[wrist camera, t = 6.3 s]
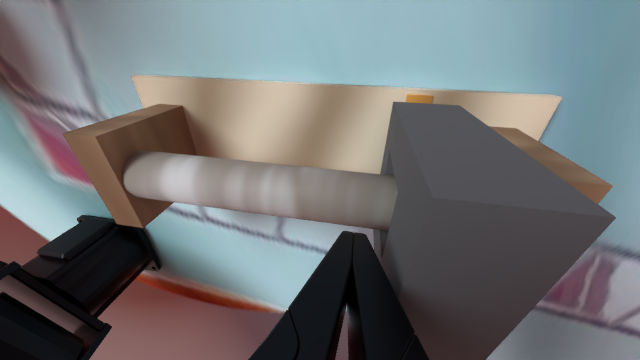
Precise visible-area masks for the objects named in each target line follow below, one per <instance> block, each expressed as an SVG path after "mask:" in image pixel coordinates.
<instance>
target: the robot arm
mask: <svg viewBox="0 0 640 360" xmlns="http://www.w3.org/2000/svg"><path fill="white" fill-rule="evenodd" d="M77 221H78V222H79V224H77V225H76V226H74V227H73V228H71V229H70V230H68V231H66V232H65V233H63V234H62V235H60V236H59V237H57V238H55V239H54V240H52V241H51V242H49V243H48V244H46V245H45V246H43V247H41V248H40V249H39V250H38V251H37V254H38V256H37V257H35V258H34V259H32V260H30V261H29V262H28V263H26V264H24V265H23V266H21V265H19V264H18V263H16V262H15V261H13V262H11V263H9V264H7V263H5V262H2V261H0V291H1V293H0V360H89V359H90V357H91V356H92V355H93V353H94V352H95V350H96V349H97V348H98V346H99V345H100V343H101V342H102V340H103V339H104V338H105V336H106V335H107V334H108V332H109V331H110V329H111V328H112V326H110V325H109V324H107V323H103V322H102V321H100V320H98V319H97V318H98V316H100V315H101V314H102V312H103V311H104V310H105V309H106V308H107V307H108V306H109V305H110V304H111V303H112V302H113V301H114V300H115V299H116V298H117V297H118V296H119V295H120V294H121V293H122V292H123V291H124V290H125V289H126V288H127V287H128V286H129V285H130V284H131V283H132V281H134V279H135V278H136V277H137V276H138V275H139V274H140V273H141V272H142V271H143V270H144V269H146V270H151V271H159V270H160V268H161V265H160V263H159V261H158V259H157V257H156V255H155V254H154V252H153V250H152V248H151V246H150V244H149V242H148V240H147V239H146V237H145V235H144V233H143V231H142V229H141V228H140V227H133V226H127V225H120V224H117V223H116V222H115V220H112V219H106V218H99V217H93V216H86V215H82V216H80V217H78V218H77ZM20 266H21V267H20ZM346 306H347V321H348V322H347V324H348V360H430V359H429V357H428V356H427V354H426V352H425V350H424V348H423V346H422V344H421V342H420V340H419V338H418V336H417V335H414V334H415V331H414V329H413V327H412V325H411V323H410V321H409V319H408V317H407V315H406V313H405V311H404V309H403V307H402V305H401V303H400V301H399V299H398V297H397V295H396V293H395V291H394V289H393V287H392V285H391V283H390V281H389V279H388V277H387V275H386V273H385V271H384V269H383V267H382V265H381V263H380V261H379V259H378V257H377V255H376V254H375V252H374V250H373V248H372V246H371V244H370V242H369V240H368V238H367V236H366V235H365V234H363V233H354V232H348V231H343V232H342V233H341V234H340V236H339V237H338V238H337V240H336V241H335V243H334V244H333V245H332V247H331V248H330V250H329V251H328V253H327V254H326V255H325V257H324V258H323V260H322V261H321V262H320V264H319V265H318V267H317V268H316V269H315V271H314V272H313V274H312V275H311V277H310V278H309V279H308V281H307V282H306V284H305V285H304V286H303V288H302V289H301V291H300V292H299V294H298V295H297V296H296V298H295V299H294V301H293V302H292V303H291V305H290V306H289V308H288V310H286V312H285V313H284V314H283V316H282V317H281V319H280V320H279V322H278V323H277V324H276V326H275V327H274V329H273V330H272V331H271V332H270V334H269V335H268V336H267V337H266V339H265V340H264V341H263V342H262V344H261V345H260V346H259V347H258V349H257V350H256V351H255V352H254V353H253V355H252V356H251V357H250V358H249V359H248V360H335V358H336V353H337V349H338V344H339V339H340V334H341V329H342V325H343V320H344V315H345V310H346Z"/></svg>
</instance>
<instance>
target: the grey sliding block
mask: <svg viewBox="0 0 640 360" xmlns="http://www.w3.org/2000/svg"><path fill="white" fill-rule="evenodd" d="M380 174H383V175H393V176H395V180H396V185H397V190H398V194H397V198H396V202H395V206H394V211H393V215H392V219H391V223H390V227H389V231H385V230H378V229H373V230H374V252H375V254H376V255H377V257H378V259H379V261H380V263H381V265H382V267H383V269H384V271H385V273H386V275H387V277H388V279H389V281H390V283H391V285H392V287H393V289H394V291H395V293H396V295H397V297H398V299H399V301H400V303H401V305H402V307H403V309H404V311H405V313H406V315H407V317H408V319H409V321H410V323H411V325H412V327H413V329H414V331H415V334H414V335H417V336H418V338H419V340H420V342H421V344H422V346H423V348H424V350H425V352H426V354H427V356H428V357H429V359H430V360H486V359H487V357H488V356H489V355H490V354H491V353H492V352H493V351H494V350H495V349H496V348H497V347H498V346H499V344H500V343H501V342H502V341H503V340H504V339H505V338H506V337H507V336H508V335H509V334H510V332H511V331H512V330H513V329H514V328H515V327H516V326H517V325H518V324H519V323H520V322H521V321H522V319H523V318H524V317H525V316H526V315H527V314H528V313H529V312H530V311H531V310H532V309H533V307H534V306H535V305H536V304H537V303H538V302H539V301H540V300H541V299H542V298H543V297H544V296H545V294H546V293H547V292H548V291H549V290H550V289H551V288H552V287H553V286H554V285H555V284H556V282H557V281H558V280H559V279H560V278H561V277H562V276H563V275H564V274H565V273H566V272H567V271H568V269H569V268H570V267H571V266H572V265H573V264H574V263H575V262H576V261H577V260H578V259H579V257H580V256H581V255H582V254H583V253H584V252H585V251H586V250H587V249H588V248H589V247H590V245H591V244H592V243H593V242H594V241H595V240H596V239H597V238H598V237H599V236H600V235H601V234H602V232H603V231H604V230H605V229H606V228H607V227H608V226H609V225H610V224H611V223H612V222H613V220H614V219H615V218H616V217H614V216H613V215H612V214H610V213H609V212H607V211H606V210H605V209H603V208H602V207H601V206H599V205H598V204H596V203H595V202H594V201H592V200H591V199H589V198H588V197H587V196H585V195H584V194H582V193H581V192H580V191H578V190H577V189H575V188H574V187H573V186H571V185H570V184H568V183H567V182H566V181H564V180H563V179H561V178H560V177H559V176H557V175H556V174H554V173H553V172H552V171H550V170H549V169H547V168H546V167H545V166H543V165H542V164H541V163H539V162H538V161H536V160H535V159H534V158H532V157H531V156H529V155H528V154H527V153H525V152H524V151H522V150H521V149H520V148H518V147H517V146H515V145H514V144H513V143H511V142H510V141H508V140H507V139H506V138H504V137H503V136H501V135H500V134H499V133H497V132H496V131H494V130H493V129H492V128H490V127H489V126H488V125H486V124H485V123H483V122H482V121H481V120H479V119H478V118H476V117H475V116H474V115H472V114H471V113H469V112H468V111H467V110H465V109H464V108H462V107H461V106H460V105H445V104H427V103H410V102H393V105H392V111H391V116H390V122H389V127H388V133H387V139H386V144H385V150H384V155H383V161H382V166H381V172H380Z"/></svg>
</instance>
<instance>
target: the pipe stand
mask: <svg viewBox="0 0 640 360" xmlns="http://www.w3.org/2000/svg"><path fill="white" fill-rule="evenodd" d="M131 77H132V80H133V82H134V85H135V88H136V90H137V93H138V95H139V98H140V101H141V103H142V106H143V109H140V110H137V111H134V112H130V113H127V114H124V115H121V116H118V117H114V118H111V119H108V120H105V121H101V122H98V123H95V124H92V125H88V126H85V127H82V128H79V129H75V130H72V131H69V132H66V133H62V134H63V136H64V137H65V139H66V141H67V142H68V144H69V146H70V147H71V149H72V151H73V152H74V154H75V156H76V157H77V159H78V160H79V162H80V164H81V165H82V167H83V169H84V170H85V172H86V174H87V175H88V177H89V179H90V180H91V182H92V184H93V185H94V187H95V189H96V190H97V192H98V194H99V195H100V197H101V199H102V200H103V202H104V204H105V205H106V207H107V209H108V210H109V212H110V214H111V215H112V217H113V219H114V220H115V222H116V223H117V224H120V225H127V226H133V227H140V228H144V227H145V226H146V225H148V224H149V223H150V222H151V221H152V220H154V219H155V218H156V217H157V216H158V215H159V214H161V213H162V212H163V211H164V210H165V209H167V208H168V207H169V206H170V205H171V204H173V203H174V202H177V203H184V204H192V205H199V206H206V207H214V208H221V209H229V210H236V211H244V212H251V213H259V214H266V215H274V216H281V217H288V218H296V219H303V220H311V221H318V222H326V223H333V224H341V225H348V226H356V227H363V228H371V229H378V230H385V231H389V227H390V223H391V219H392V215H393V211H394V206H395V202H396V198H397V194H398V190H397V185H396V180H395V176H393V175H383V174H380V172H381V166H382V161H383V155H384V150H385V144H386V139H387V133H388V127H389V122H390V116H391V111H392V105H393V102H410V103H427V104H445V105H460V106H461V107H462V108H464V109H465V110H467V111H468V112H469V113H471V114H472V115H474V116H475V117H476V118H478V119H479V120H481V121H482V122H483V123H485V124H486V125H488V126H489V127H490V128H492V129H493V130H494V131H496V132H497V133H499V134H500V135H501V136H503V137H504V138H506V139H507V140H508V141H510V142H511V143H513V144H514V145H515V146H517V147H518V148H520V149H521V150H522V151H524V152H525V153H527V154H528V155H529V156H531V157H532V158H534V159H535V160H536V161H538V162H539V163H541V164H542V165H543V166H545V167H546V168H547V169H549V170H550V171H552V172H553V173H554V174H556V175H557V176H559V177H560V178H561V179H563V180H564V181H566V182H567V183H568V184H570V185H571V186H573V187H574V188H575V189H577V190H578V191H580V192H581V193H582V194H584V195H585V196H587V197H588V198H589V199H591V200H592V201H594V202H595V203H596V204H598V203H599V202H600V201H601V200H602V198H603V197H604V196H605V195H606V194H607V192H608V191H609V190H610V189H611V188H612V185H611V184H609V183H607V182H606V181H604V180H602V179H601V178H599V177H597V176H596V175H594V174H592V173H591V172H589V171H587V170H586V169H584V168H582V167H581V166H579V165H577V164H576V163H574V162H572V161H571V160H569V159H567V158H565V157H564V156H562V155H560V154H559V153H557V152H555V151H554V150H552V149H550V148H549V147H547V146H545V145H544V144H542V143H540V142H539V141H538V140H539V138H540V137H541V135H542V133H543V131H544V129H545V128H546V126H547V124H548V122H549V120H550V119H551V117H552V115H553V113H554V111H555V110H556V108H557V106H558V104H559V102H560V101H561V99H562V97H559V96H555V95H548V94H527V93H507V92H486V91H466V90H445V89H425V88H404V87H384V86H363V85H343V84H322V83H302V82H282V81H261V80H241V79H220V78H200V77H179V76H159V75H134V76H131Z"/></svg>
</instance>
